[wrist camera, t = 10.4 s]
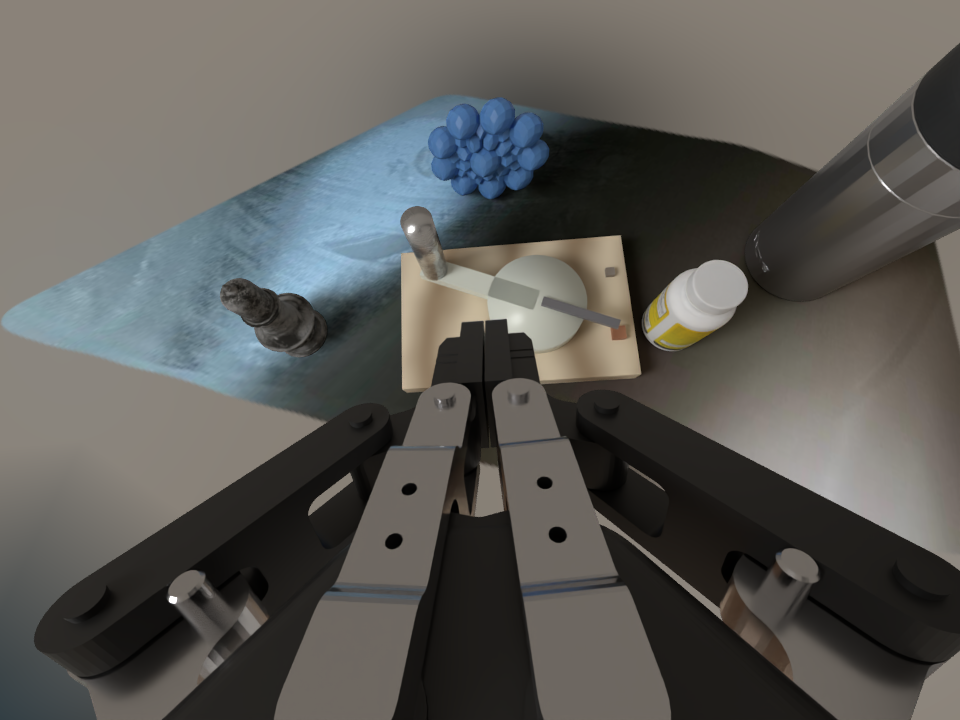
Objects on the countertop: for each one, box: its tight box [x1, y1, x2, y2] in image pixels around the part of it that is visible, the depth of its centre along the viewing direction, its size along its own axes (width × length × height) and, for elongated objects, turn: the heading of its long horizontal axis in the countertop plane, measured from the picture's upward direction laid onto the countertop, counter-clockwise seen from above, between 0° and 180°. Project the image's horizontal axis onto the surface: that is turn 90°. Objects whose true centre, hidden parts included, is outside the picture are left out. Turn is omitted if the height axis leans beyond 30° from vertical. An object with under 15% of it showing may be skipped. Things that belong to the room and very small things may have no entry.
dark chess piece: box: [220, 278, 327, 357], centre depth 36 cm, size 6×6×12 cm
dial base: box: [401, 235, 641, 393], centre depth 39 cm, size 22×14×3 cm, turn 93°
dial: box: [400, 206, 621, 354], centre depth 34 cm, size 19×9×10 cm, turn 70°
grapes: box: [428, 97, 549, 199], centre depth 38 cm, size 12×7×12 cm, turn 82°
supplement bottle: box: [642, 260, 748, 351], centre depth 34 cm, size 5×5×10 cm
